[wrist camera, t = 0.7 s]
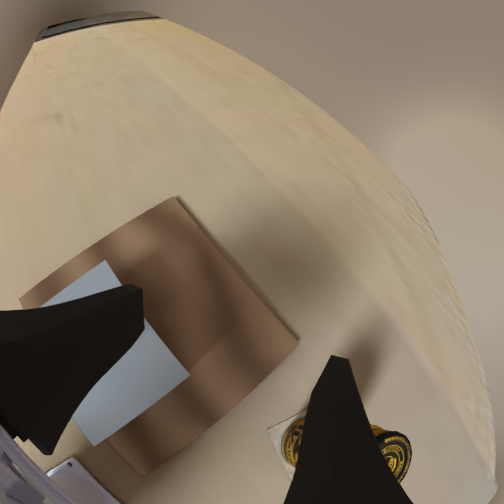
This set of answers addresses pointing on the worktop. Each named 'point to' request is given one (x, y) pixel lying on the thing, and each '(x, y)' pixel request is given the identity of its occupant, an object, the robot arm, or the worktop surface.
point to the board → (182, 326)
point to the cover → (122, 369)
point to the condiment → (390, 442)
